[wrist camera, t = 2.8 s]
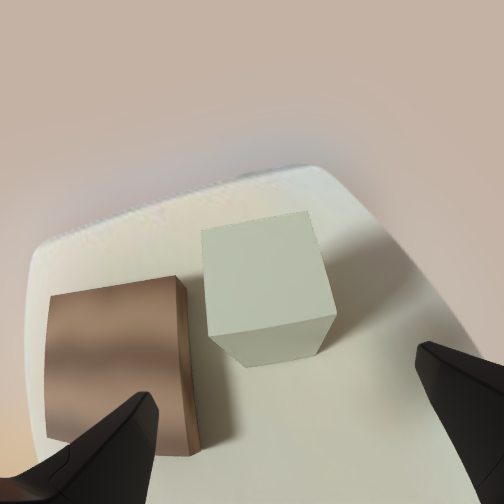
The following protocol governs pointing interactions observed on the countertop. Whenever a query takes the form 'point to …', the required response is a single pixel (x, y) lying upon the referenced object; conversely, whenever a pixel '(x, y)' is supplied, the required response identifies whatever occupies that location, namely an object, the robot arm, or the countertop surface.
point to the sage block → (266, 289)
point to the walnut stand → (121, 360)
